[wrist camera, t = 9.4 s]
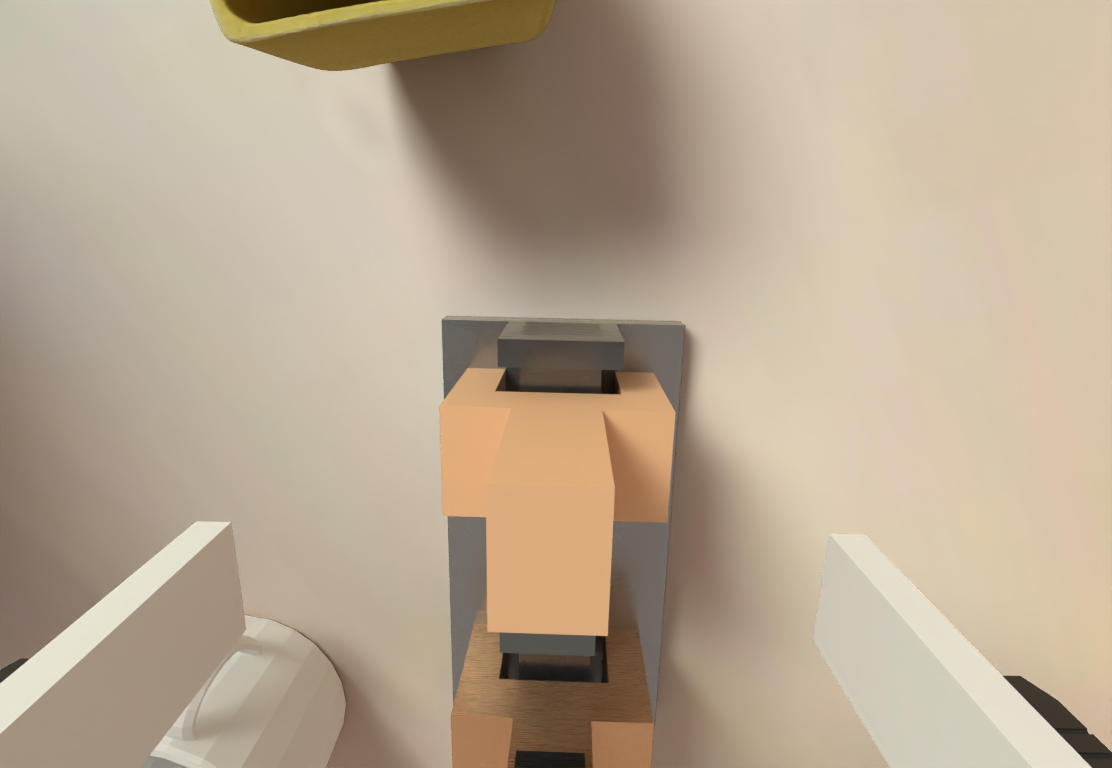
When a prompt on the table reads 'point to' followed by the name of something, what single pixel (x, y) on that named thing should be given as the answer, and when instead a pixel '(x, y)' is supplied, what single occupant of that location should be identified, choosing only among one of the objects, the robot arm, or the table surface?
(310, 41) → the flower pot
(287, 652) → the mug
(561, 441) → the tan wooden arch block
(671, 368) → the rail base
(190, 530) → the robot arm
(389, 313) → the table surface
